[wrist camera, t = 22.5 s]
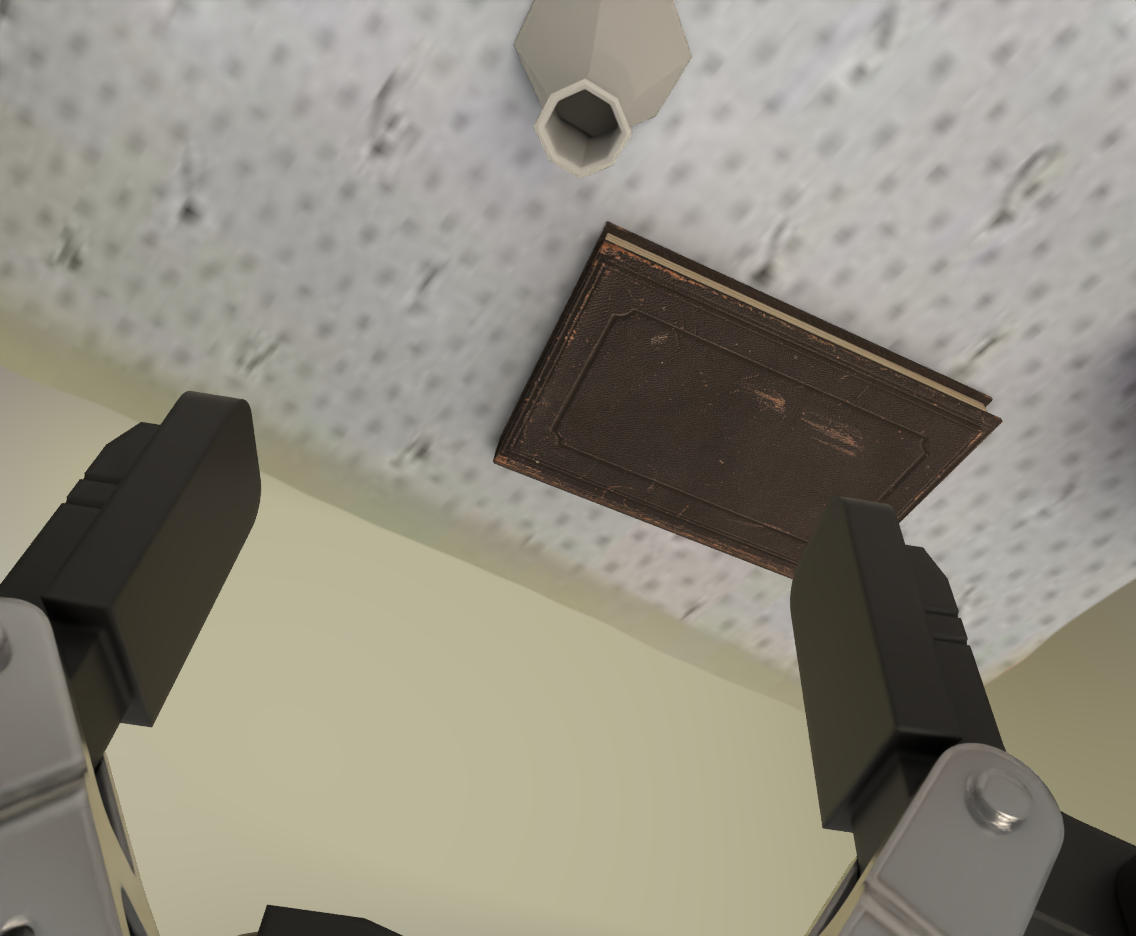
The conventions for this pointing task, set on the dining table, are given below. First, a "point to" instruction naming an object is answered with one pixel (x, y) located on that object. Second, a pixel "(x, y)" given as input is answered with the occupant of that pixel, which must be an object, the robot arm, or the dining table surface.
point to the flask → (599, 73)
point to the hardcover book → (727, 408)
